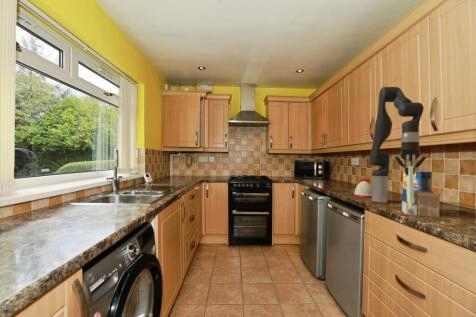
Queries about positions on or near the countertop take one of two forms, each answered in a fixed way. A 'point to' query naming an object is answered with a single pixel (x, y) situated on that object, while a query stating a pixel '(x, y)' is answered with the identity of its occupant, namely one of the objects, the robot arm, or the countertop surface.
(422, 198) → the oak rack
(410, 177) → the sage board
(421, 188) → the beverage box
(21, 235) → the countertop surface
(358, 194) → the kitchen timer
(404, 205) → the small printed carton
